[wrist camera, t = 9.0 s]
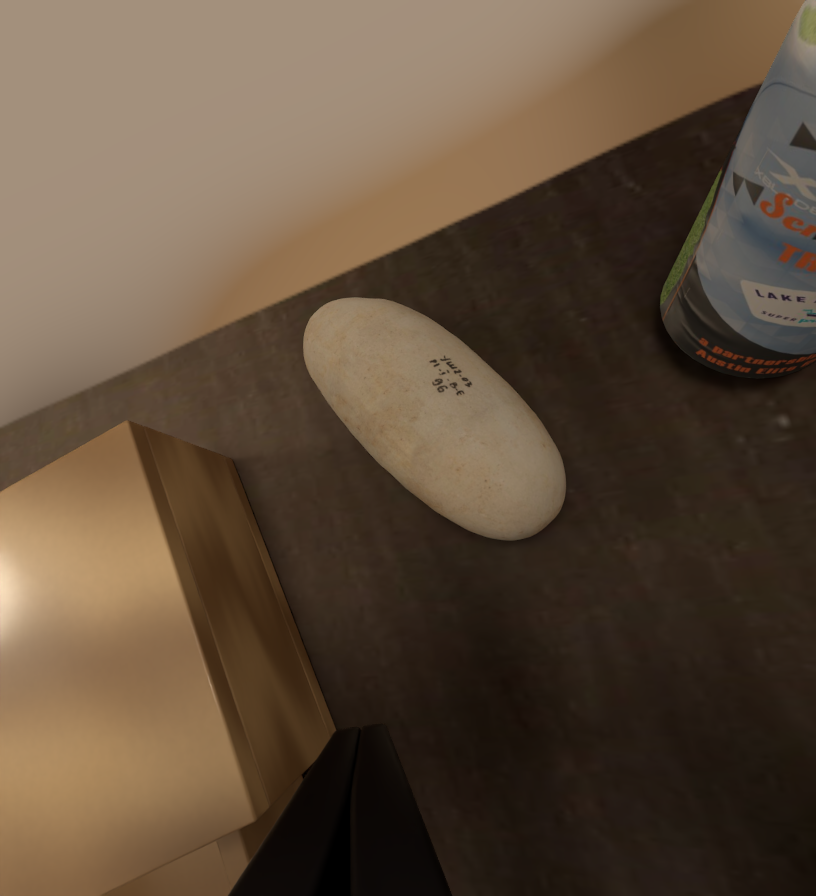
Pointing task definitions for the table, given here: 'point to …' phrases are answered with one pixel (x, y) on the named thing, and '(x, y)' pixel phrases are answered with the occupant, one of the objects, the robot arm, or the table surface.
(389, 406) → the stone
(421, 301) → the table surface
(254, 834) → the drawer
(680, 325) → the beverage can
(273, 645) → the cabinet
